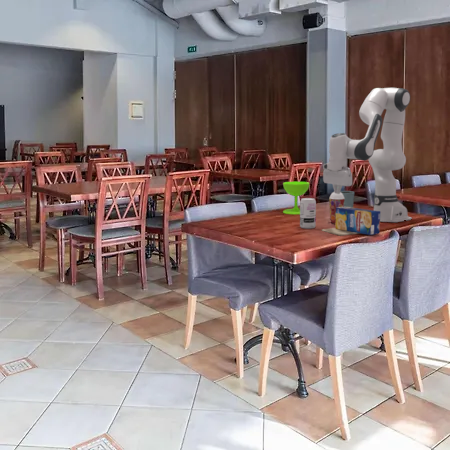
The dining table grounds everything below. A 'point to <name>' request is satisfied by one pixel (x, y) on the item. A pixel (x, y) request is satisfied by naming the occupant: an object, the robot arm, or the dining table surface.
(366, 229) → the cracker box
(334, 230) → the board
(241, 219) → the dining table surface
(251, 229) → the dining table surface
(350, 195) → the grey green plant pot
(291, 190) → the wineglass
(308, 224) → the supplement can
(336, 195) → the smoothie
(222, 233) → the dining table surface
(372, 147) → the robot arm
